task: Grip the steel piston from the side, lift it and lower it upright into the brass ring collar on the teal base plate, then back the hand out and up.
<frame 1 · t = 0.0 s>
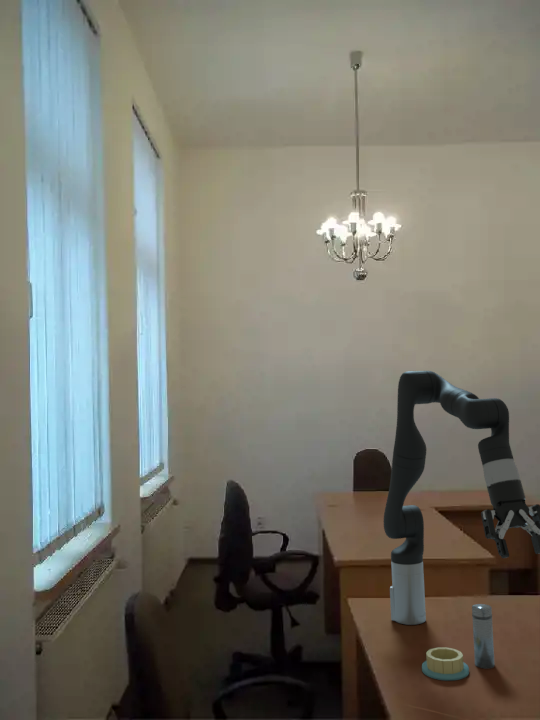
hand: (522, 555, 153), 31 cm above the table, tool tilted 20°, fingers open, 8 cm apart
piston: (484, 664, 172), on the table
ring collar: (445, 670, 169), on the table
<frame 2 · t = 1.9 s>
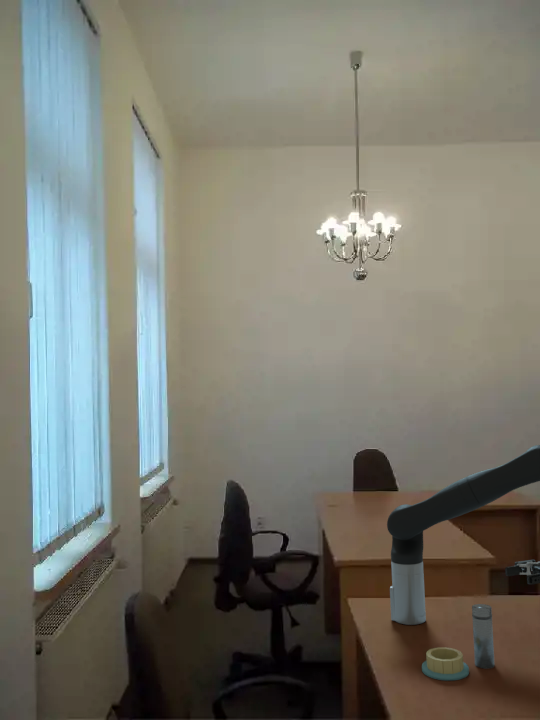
hand: (516, 575, 176), 20 cm above the table, tool horizontal, fingers open, 8 cm apart
nothing on the table moved.
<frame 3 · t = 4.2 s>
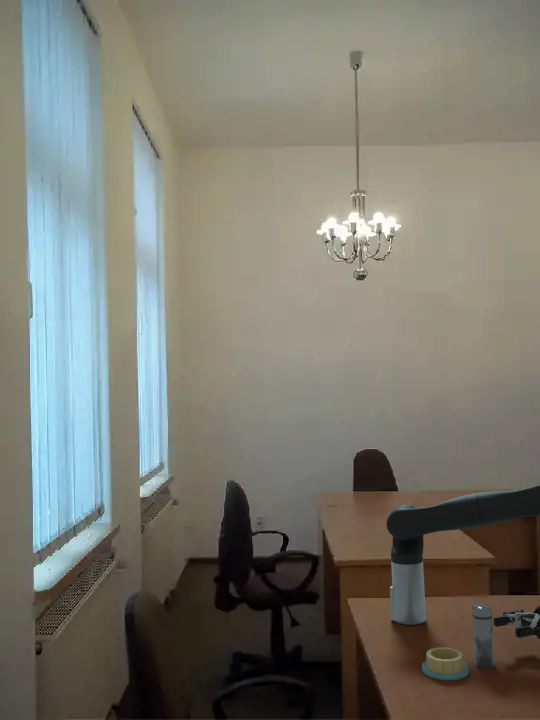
hand: (505, 627, 174), 8 cm above the table, tool horizontal, fingers open, 8 cm apart
nothing on the table moved.
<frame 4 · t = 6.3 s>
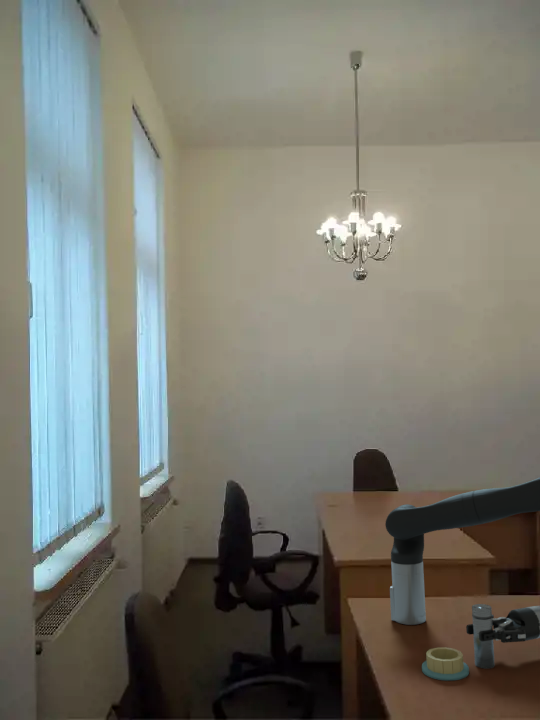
hand: (473, 633, 171), 8 cm above the table, tool horizontal, fingers closed on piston, 4 cm apart
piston: (484, 664, 172), on the table, touching gripper
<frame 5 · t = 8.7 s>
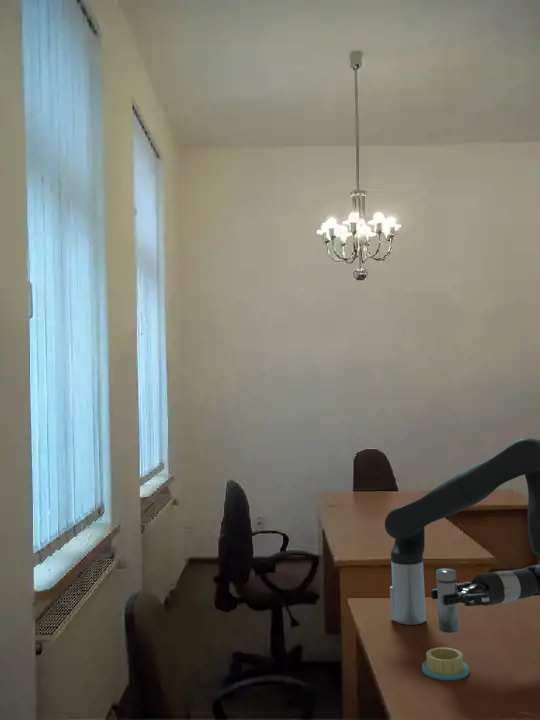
hand: (437, 597, 169), 18 cm above the table, tool horizontal, fingers closed on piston, 4 cm apart
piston: (448, 629, 170), point 10 cm above the table, touching gripper
when the fingers open (10 cm above the table, at t = 11.1 s): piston drops 1 cm, resting on ring collar.
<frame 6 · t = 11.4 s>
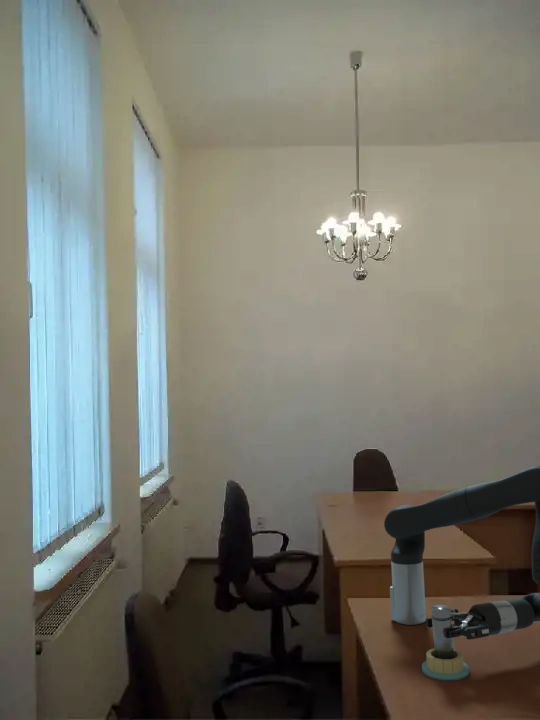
hand: (435, 628, 169), 10 cm above the table, tool horizontal, fingers open, 7 cm apart
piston: (445, 666, 169), point 1 cm above the table, touching ring collar
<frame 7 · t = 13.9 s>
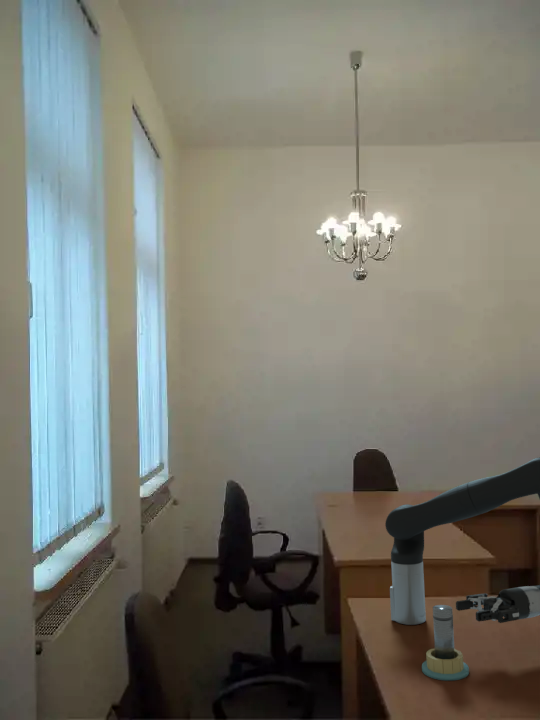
hand: (466, 611, 173), 13 cm above the table, tool horizontal, fingers open, 8 cm apart
nothing on the table moved.
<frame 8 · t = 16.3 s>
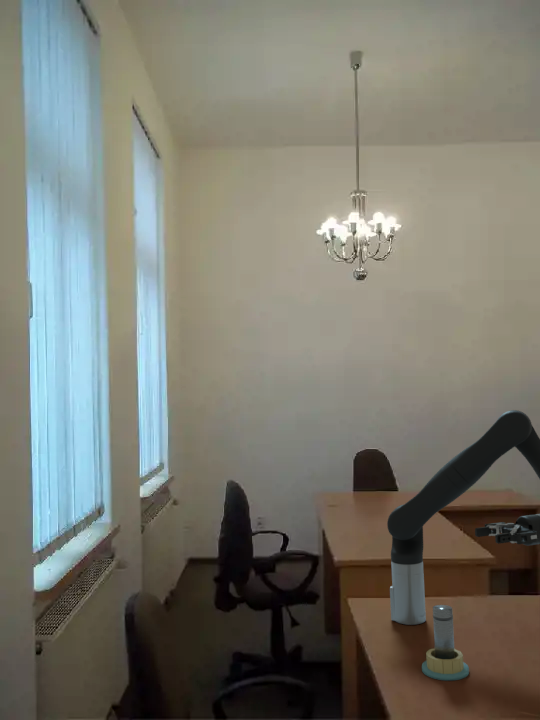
hand: (485, 535, 178), 30 cm above the table, tool horizontal, fingers open, 8 cm apart
nothing on the table moved.
at the end: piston 0.1 cm off-centre on the ring collar, point 1.0 cm above the ring collar's base; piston tilted 0°; the gripper is holding nothing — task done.
